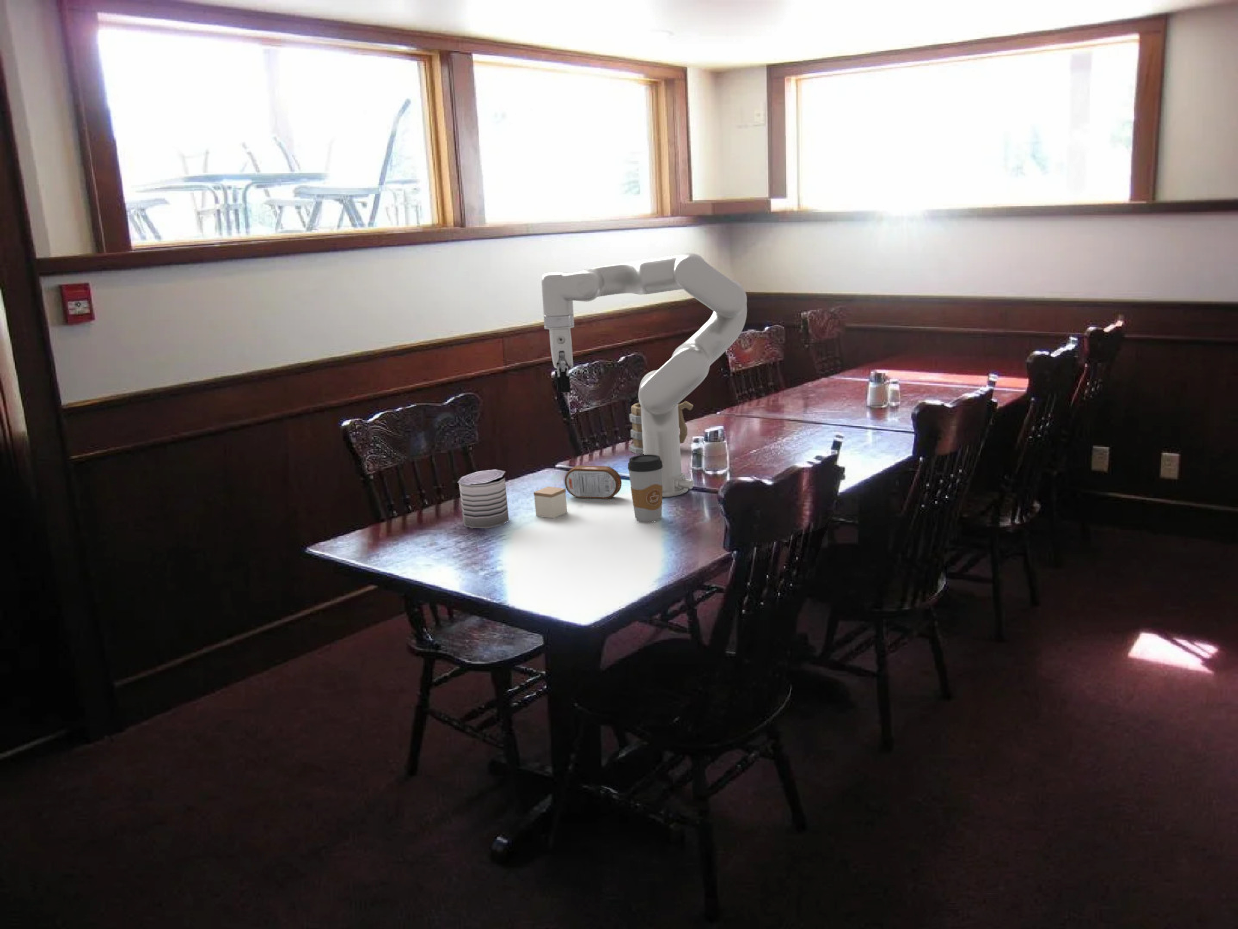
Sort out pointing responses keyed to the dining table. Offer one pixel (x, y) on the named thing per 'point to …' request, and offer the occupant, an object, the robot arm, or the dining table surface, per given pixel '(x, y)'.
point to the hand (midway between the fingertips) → (562, 389)
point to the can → (484, 499)
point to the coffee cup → (646, 487)
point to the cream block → (550, 502)
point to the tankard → (637, 426)
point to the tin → (593, 482)
